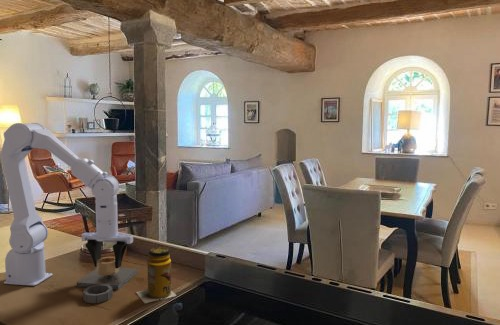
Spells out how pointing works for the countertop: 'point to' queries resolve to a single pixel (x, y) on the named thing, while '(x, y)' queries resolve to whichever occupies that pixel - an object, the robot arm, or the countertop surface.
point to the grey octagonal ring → (92, 297)
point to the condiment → (158, 276)
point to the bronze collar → (106, 266)
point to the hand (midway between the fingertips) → (108, 266)
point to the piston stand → (108, 278)
